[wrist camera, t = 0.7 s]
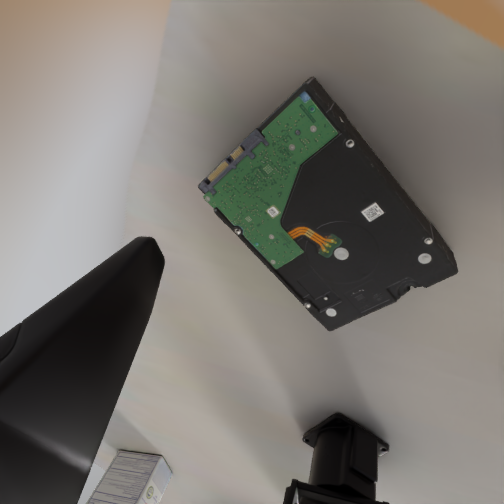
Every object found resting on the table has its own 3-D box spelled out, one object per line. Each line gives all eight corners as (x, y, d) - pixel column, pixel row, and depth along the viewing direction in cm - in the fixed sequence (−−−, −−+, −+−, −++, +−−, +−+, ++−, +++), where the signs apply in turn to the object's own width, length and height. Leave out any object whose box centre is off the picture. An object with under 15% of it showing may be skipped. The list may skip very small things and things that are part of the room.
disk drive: (456, 247, 25) (311, 71, 22) (464, 271, 22) (304, 78, 19) (333, 311, 30) (205, 178, 27) (330, 335, 28) (189, 193, 25)
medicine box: (131, 466, 57) (96, 528, 50) (118, 448, 55) (80, 510, 48) (173, 473, 54) (142, 540, 47) (162, 454, 52) (128, 522, 45)
